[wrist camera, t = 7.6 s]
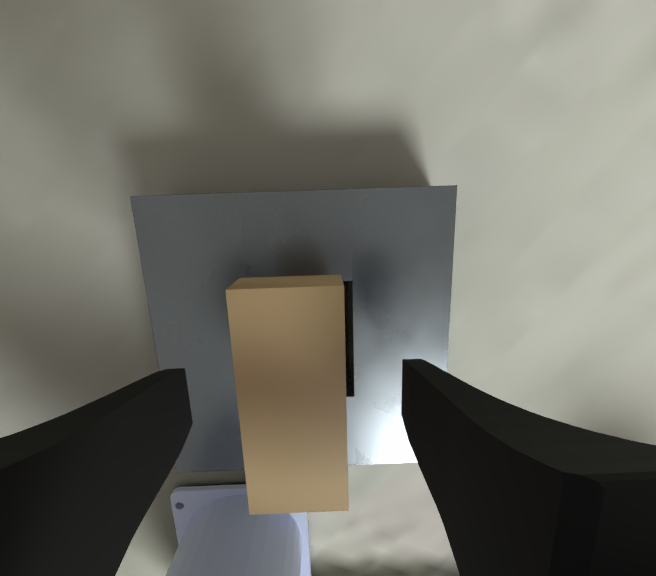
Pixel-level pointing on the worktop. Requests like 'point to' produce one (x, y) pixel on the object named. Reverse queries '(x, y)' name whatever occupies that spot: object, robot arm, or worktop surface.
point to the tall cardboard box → (291, 391)
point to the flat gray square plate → (300, 260)
